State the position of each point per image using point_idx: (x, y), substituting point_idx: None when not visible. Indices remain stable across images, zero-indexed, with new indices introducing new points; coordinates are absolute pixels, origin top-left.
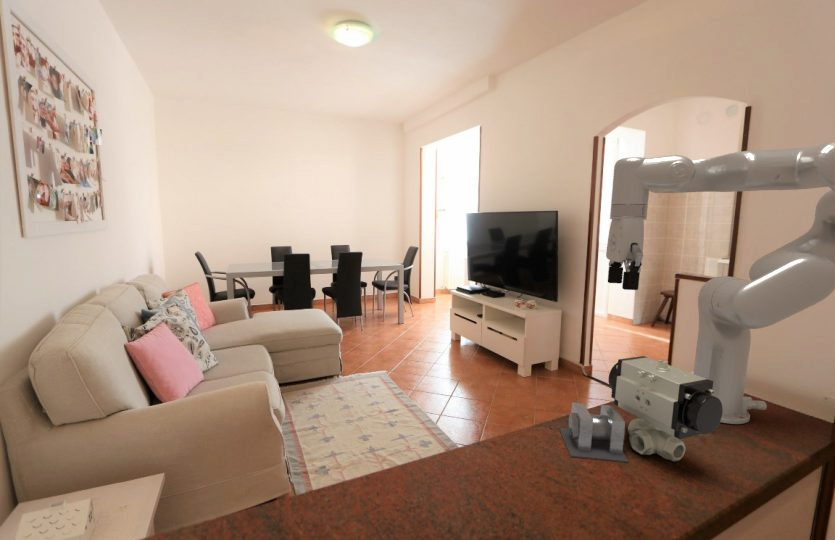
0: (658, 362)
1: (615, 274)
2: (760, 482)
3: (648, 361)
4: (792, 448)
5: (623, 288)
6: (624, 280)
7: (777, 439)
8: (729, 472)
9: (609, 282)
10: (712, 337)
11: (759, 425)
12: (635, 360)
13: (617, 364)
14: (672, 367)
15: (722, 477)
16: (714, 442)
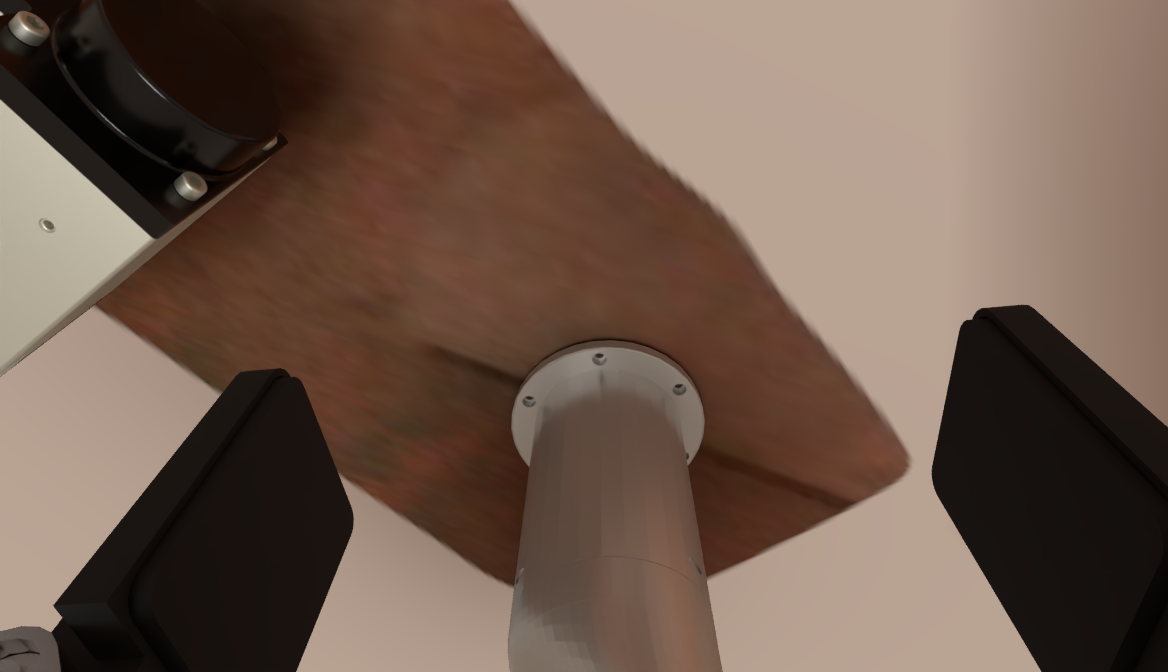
0: (79, 267)
1: (1030, 505)
2: (175, 355)
3: (61, 217)
4: (420, 500)
5: (239, 374)
6: (174, 469)
7: (462, 492)
8: (184, 303)
9: (979, 321)
10: (540, 626)
11: None
12: (23, 141)
13: (95, 35)
14: (36, 312)
15: (141, 274)
16: (361, 334)
